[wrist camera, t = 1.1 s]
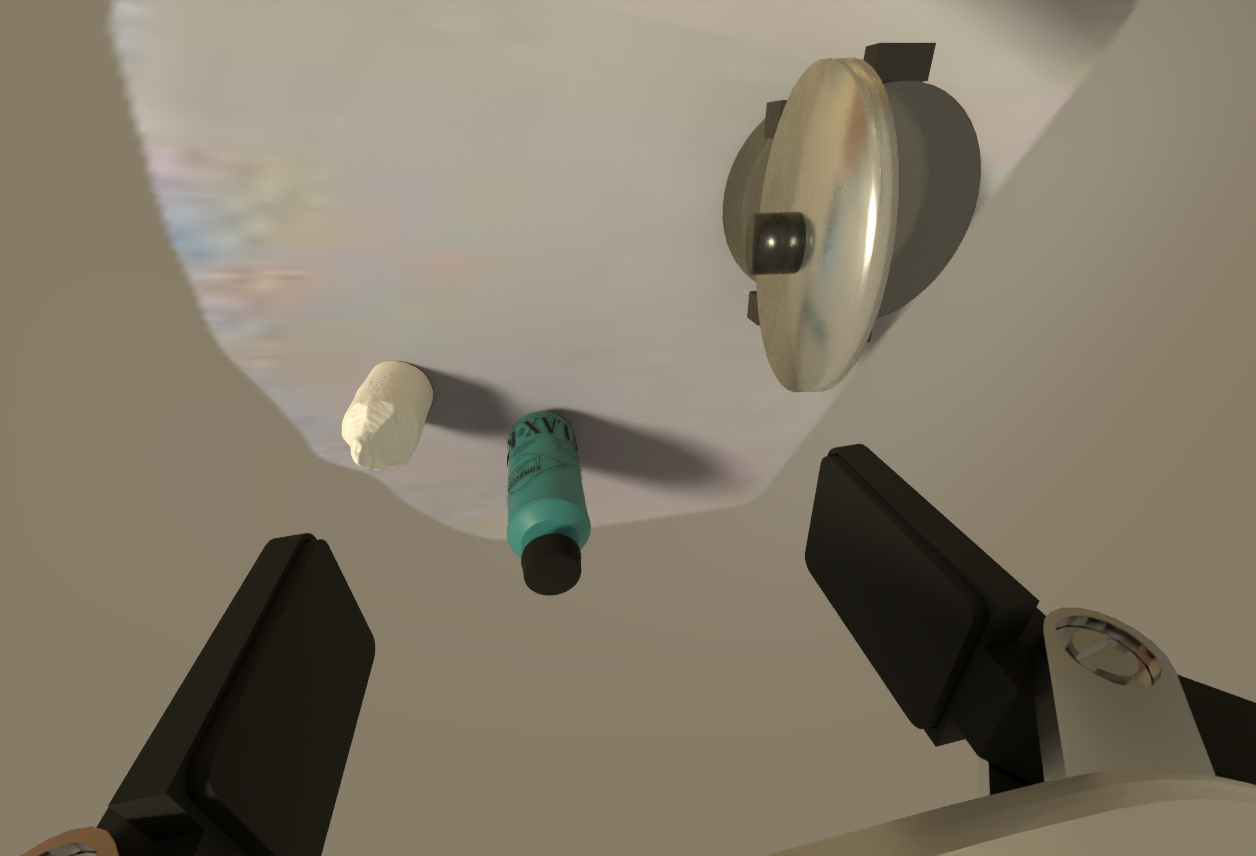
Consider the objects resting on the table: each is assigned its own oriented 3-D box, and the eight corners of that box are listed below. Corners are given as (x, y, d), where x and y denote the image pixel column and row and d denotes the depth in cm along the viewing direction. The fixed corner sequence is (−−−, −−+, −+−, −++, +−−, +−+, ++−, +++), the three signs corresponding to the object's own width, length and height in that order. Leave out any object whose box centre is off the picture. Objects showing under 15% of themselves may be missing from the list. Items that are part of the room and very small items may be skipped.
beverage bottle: (585, 420, 51) (621, 559, 34) (549, 468, 53) (567, 622, 36) (529, 390, 48) (539, 525, 31) (494, 441, 50) (484, 595, 33)
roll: (428, 473, 37) (362, 507, 37) (446, 401, 47) (394, 428, 47) (372, 411, 34) (301, 449, 34) (404, 348, 44) (350, 378, 44)
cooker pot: (719, 64, 38) (787, 37, 29) (917, 62, 41) (1040, 38, 31) (706, 319, 48) (753, 363, 39) (866, 304, 51) (947, 342, 41)
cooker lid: (791, 77, 31) (732, 79, 31) (945, 23, 16) (835, 27, 16) (763, 335, 39) (716, 336, 39) (849, 447, 25) (776, 450, 25)
